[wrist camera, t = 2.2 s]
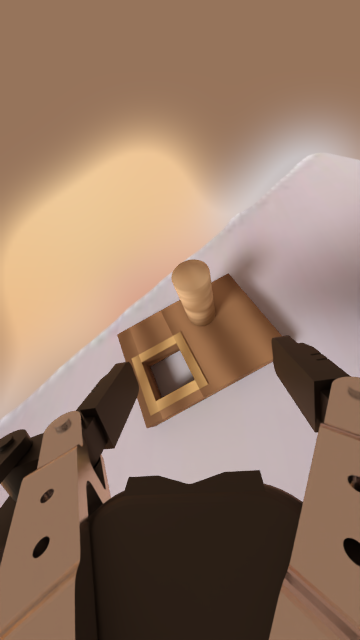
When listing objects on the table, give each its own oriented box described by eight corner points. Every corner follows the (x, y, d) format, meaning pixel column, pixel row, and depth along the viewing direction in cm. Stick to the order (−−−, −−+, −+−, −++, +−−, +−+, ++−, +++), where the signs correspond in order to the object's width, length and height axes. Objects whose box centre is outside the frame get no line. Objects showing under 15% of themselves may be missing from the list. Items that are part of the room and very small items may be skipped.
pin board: (228, 284, 31) (228, 272, 29) (285, 354, 25) (292, 347, 22) (126, 340, 31) (116, 334, 29) (155, 426, 25) (146, 428, 22)
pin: (206, 297, 28) (198, 253, 20) (220, 317, 26) (217, 277, 18) (183, 310, 28) (165, 271, 20) (195, 331, 26) (181, 297, 18)
